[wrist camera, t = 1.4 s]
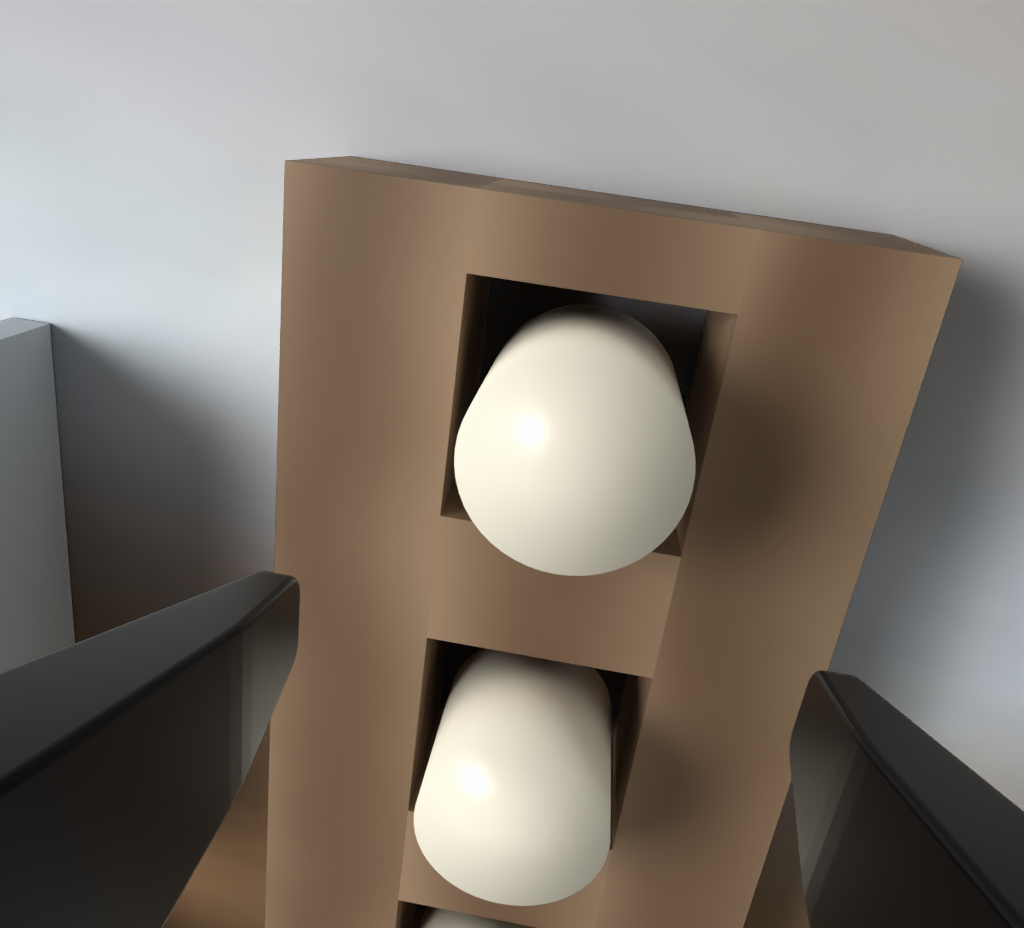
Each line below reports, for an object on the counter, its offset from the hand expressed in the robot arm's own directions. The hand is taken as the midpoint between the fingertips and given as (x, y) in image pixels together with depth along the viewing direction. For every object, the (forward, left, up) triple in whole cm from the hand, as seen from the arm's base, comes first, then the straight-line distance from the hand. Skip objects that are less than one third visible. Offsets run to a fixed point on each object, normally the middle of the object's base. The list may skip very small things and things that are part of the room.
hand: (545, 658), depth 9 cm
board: (0, +8, -12) cm, 14 cm away
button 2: (0, 0, -9) cm, 9 cm away
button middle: (0, +8, -9) cm, 12 cm away
